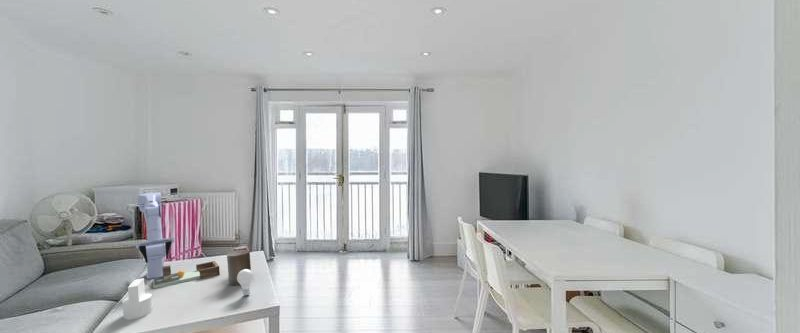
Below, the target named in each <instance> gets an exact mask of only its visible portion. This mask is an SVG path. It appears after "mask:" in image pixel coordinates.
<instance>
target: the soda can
mask: <svg viewBox="0 0 800 333" xmlns="http://www.w3.org/2000/svg"><path fill="white" fill-rule="evenodd" d="M237 250H249V251H250V249H249V246H248V245H244V244H243V245H238V246H235V247H234V248H233V251H237Z"/></svg>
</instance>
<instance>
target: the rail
mask: <svg viewBox="0 0 800 333" xmlns="http://www.w3.org/2000/svg"><path fill="white" fill-rule="evenodd" d="M177 273H178V272H174V273H171V277H174V278H170V279H165V280H161V279H163V276H159V277H155V278H153V280H154V283H155V285H157V284H162V283H166V282H171V281H175V280H179V277H175V276H177ZM157 280H161V281H157Z"/></svg>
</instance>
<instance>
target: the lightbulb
mask: <svg viewBox="0 0 800 333" xmlns="http://www.w3.org/2000/svg"><path fill="white" fill-rule="evenodd" d="M254 276H255V275H254V273H253V270H252V269H251V270H249V269H243V270H241V271H240V272H239V273H238V275H237V281H238V282H239V284H240V285H239V286H240V287H241V289H242V295H243V296H244V297H245V296H246V297H247V296H249V295H250V294H251V289H250V288H251V284H252V282H253V281H254Z"/></svg>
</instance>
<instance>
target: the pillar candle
mask: <svg viewBox="0 0 800 333" xmlns="http://www.w3.org/2000/svg"><path fill="white" fill-rule="evenodd" d="M226 257H227V260H226V261H227V272H228V284H229V285H230V286H241V285H240V284H239V282H238V281H237V275H238V273H239V272H240V271H241V270H243V269H249V270H251V271H252V267H251V266H252V265H251V253H250V249H249V250H237V251H234V250H233V251H231V252H228V253H227V254H226Z"/></svg>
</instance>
